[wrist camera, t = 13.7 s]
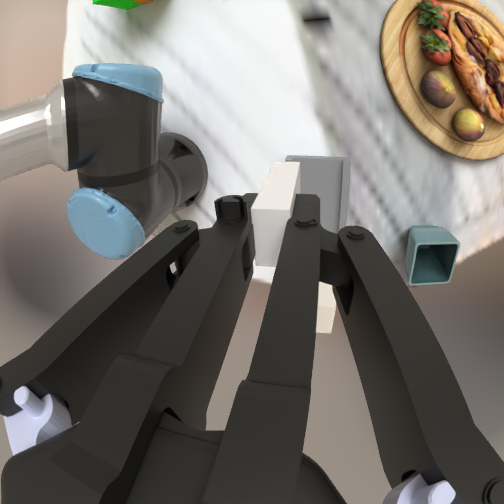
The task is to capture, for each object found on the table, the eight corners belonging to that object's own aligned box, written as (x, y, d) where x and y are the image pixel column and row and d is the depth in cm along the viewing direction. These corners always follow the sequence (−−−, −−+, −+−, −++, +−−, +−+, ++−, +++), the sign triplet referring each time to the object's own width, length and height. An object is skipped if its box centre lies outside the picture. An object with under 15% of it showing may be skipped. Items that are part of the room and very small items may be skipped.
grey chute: (289, 270, 57) (287, 279, 55) (287, 155, 44) (285, 159, 42) (338, 273, 55) (338, 282, 53) (348, 157, 42) (350, 162, 39)
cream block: (296, 272, 55) (287, 330, 43) (296, 246, 52) (287, 303, 40) (331, 274, 53) (330, 333, 41) (334, 248, 50) (335, 307, 38)
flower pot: (443, 216, 42) (461, 242, 35) (436, 255, 47) (449, 283, 40) (402, 216, 45) (416, 243, 38) (398, 256, 50) (407, 286, 42)
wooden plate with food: (532, 50, 16) (556, 51, 9) (501, 184, 35) (522, 201, 28) (390, -38, 19) (401, -57, 12) (360, 115, 38) (368, 121, 31)
